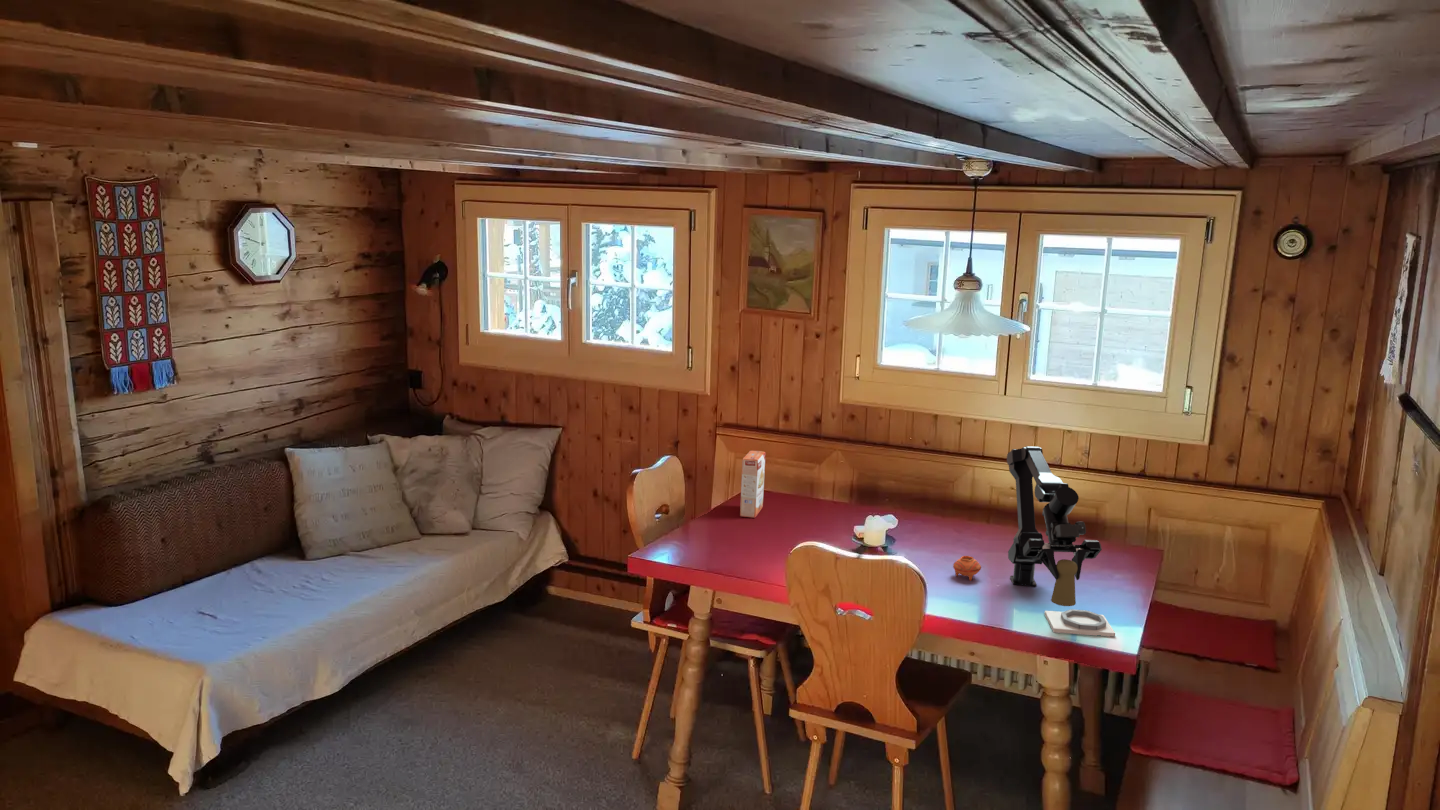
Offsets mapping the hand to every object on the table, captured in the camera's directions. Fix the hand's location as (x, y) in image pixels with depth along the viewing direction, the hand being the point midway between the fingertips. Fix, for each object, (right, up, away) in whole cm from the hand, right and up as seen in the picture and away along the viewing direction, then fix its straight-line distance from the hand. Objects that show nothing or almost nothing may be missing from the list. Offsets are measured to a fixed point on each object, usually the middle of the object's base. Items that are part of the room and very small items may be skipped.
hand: (1067, 579), depth 251 cm
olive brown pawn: (0, -6, +3) cm, 7 cm away
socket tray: (+5, -13, +5) cm, 14 cm away
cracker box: (-77, +6, +97) cm, 124 cm away
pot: (-16, -6, +38) cm, 42 cm away
